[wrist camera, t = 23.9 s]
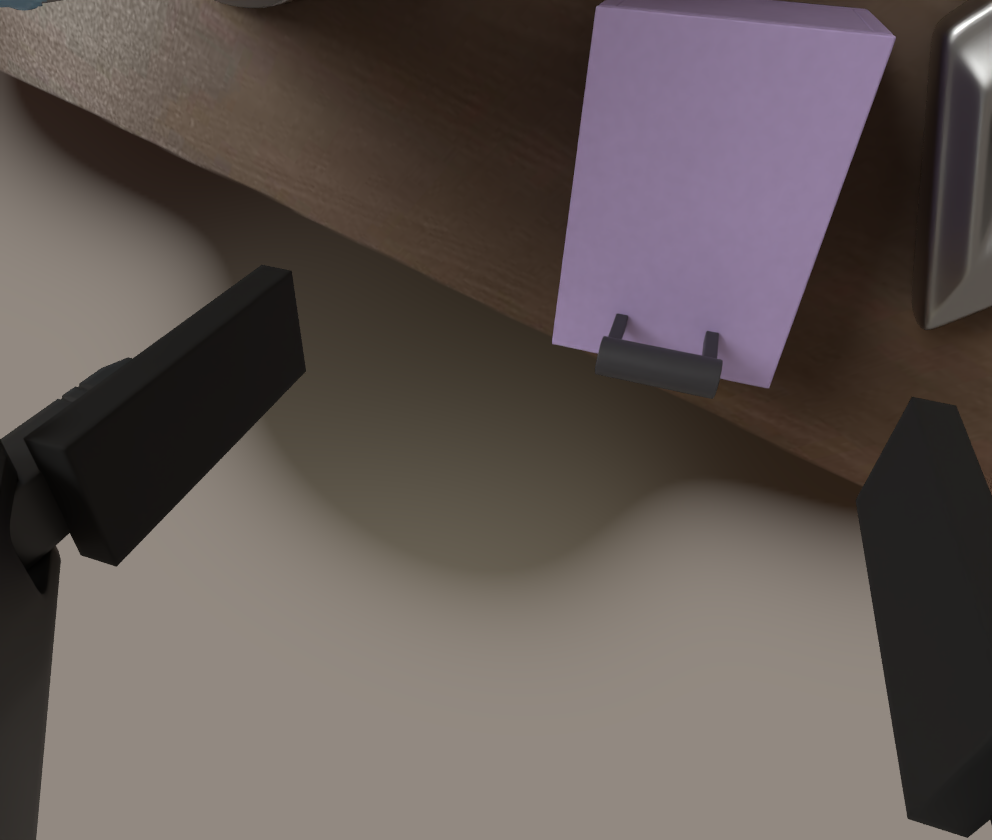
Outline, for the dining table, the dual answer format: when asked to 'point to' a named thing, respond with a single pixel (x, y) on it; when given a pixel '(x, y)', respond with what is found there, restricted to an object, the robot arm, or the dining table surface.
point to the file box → (767, 12)
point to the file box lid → (705, 189)
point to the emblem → (956, 172)
